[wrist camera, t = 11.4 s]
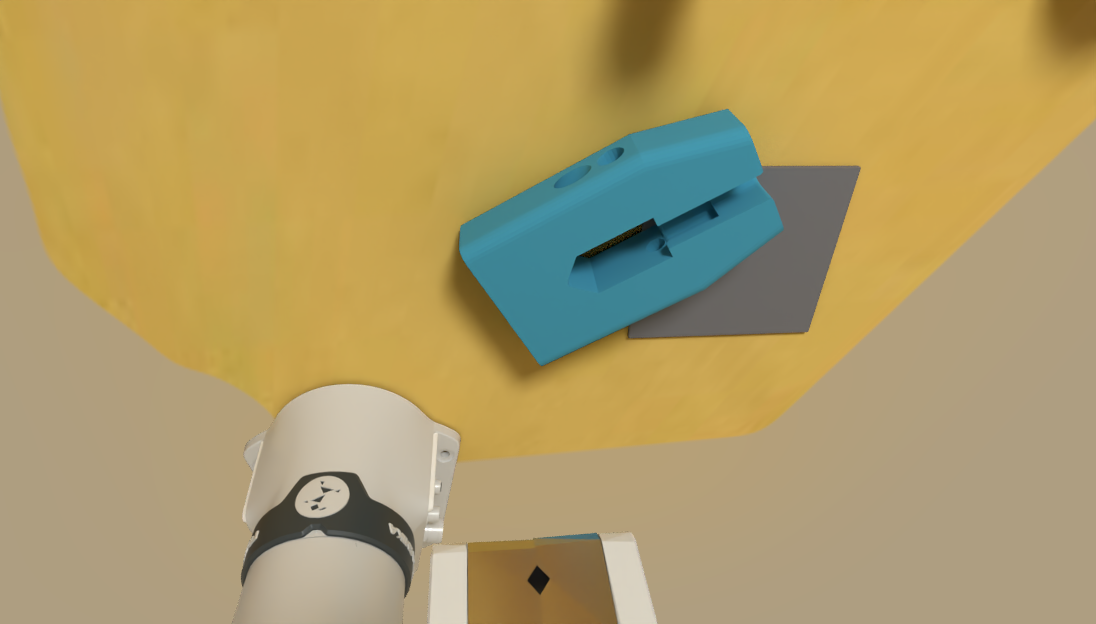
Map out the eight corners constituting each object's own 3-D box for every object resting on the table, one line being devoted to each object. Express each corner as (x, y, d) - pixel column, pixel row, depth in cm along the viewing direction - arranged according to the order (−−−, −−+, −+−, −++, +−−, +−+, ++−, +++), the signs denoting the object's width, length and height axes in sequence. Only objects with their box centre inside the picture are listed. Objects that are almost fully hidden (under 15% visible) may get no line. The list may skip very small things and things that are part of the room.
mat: (805, 329, 56) (807, 331, 56) (627, 335, 54) (628, 338, 54) (858, 165, 48) (860, 167, 48) (649, 166, 46) (650, 168, 46)
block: (715, 82, 43) (461, 220, 47) (739, 105, 38) (458, 254, 43) (767, 221, 49) (539, 332, 53) (793, 254, 45) (544, 371, 49)
